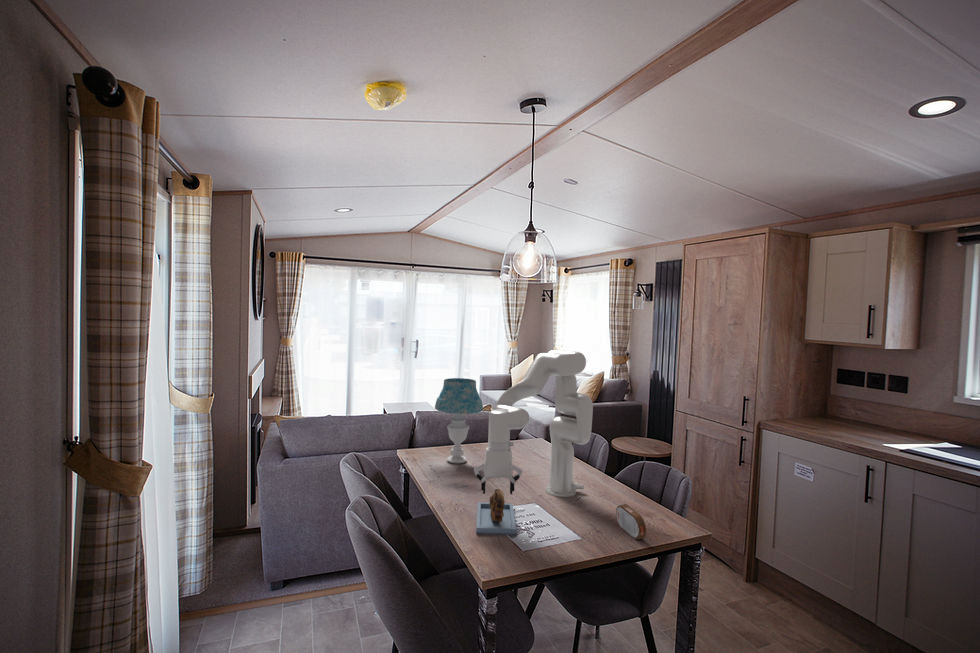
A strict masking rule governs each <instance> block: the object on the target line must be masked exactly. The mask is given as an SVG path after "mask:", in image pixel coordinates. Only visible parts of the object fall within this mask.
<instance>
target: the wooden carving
mask: <svg viewBox="0 0 980 653" xmlns="http://www.w3.org/2000/svg"><path fill="white" fill-rule="evenodd" d="M488 503H489V506H490V510H491V519H492V521H497V522H502V517H504V513H503V508H504V503H505V496H504V492H503V490H501V489H500V488H496V489H494V492H493V493H492V495H490V497H489V502H488Z"/></svg>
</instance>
